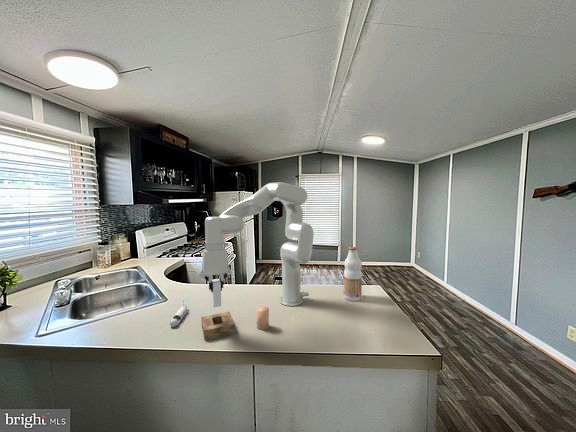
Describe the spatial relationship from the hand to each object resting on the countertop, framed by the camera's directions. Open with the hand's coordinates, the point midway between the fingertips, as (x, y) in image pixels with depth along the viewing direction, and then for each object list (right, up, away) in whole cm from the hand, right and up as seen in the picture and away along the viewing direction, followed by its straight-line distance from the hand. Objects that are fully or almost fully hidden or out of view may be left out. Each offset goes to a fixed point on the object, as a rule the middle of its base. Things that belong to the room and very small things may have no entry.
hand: (216, 290), depth 106 cm
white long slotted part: (-20, -17, +12) cm, 29 cm away
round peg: (+19, -17, +3) cm, 26 cm away
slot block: (0, -17, +2) cm, 17 cm away
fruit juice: (+65, -14, +33) cm, 74 cm away
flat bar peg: (0, -6, 0) cm, 6 cm away
